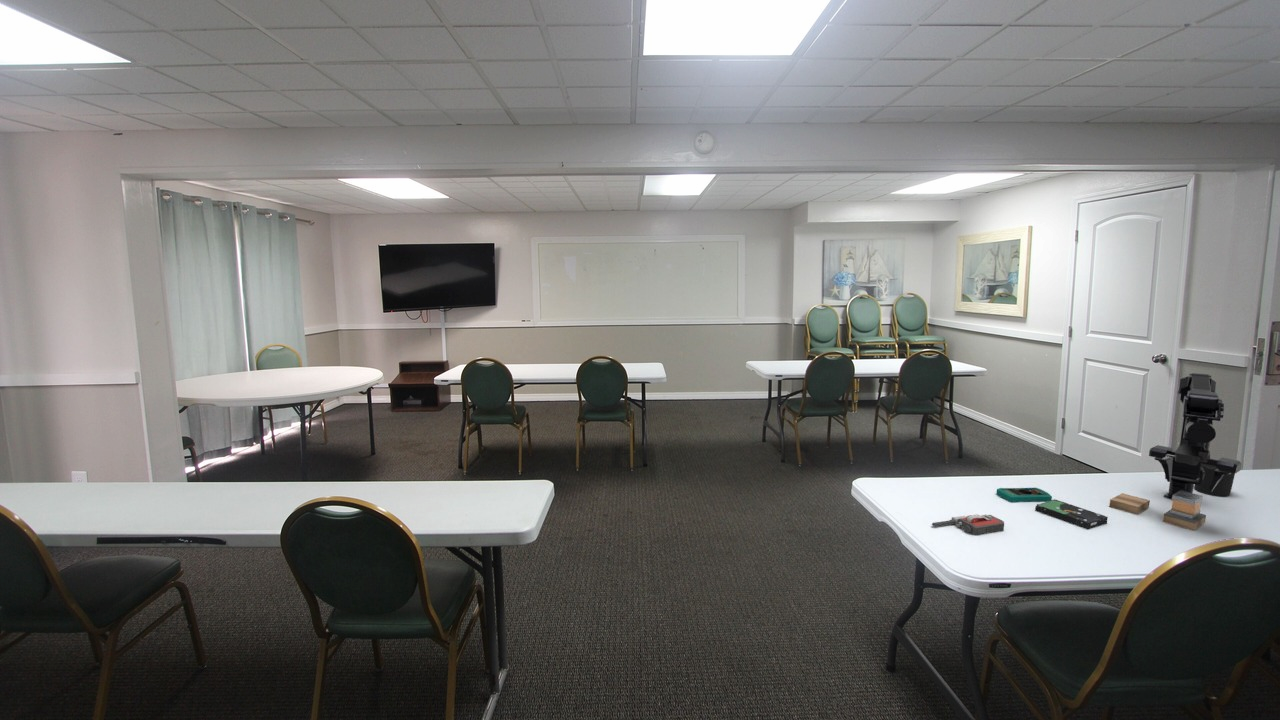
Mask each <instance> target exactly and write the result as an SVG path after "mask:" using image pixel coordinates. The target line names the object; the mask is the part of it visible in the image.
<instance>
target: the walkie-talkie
mask: <svg viewBox="0 0 1280 720" xmlns="http://www.w3.org/2000/svg"><path fill="white" fill-rule="evenodd" d="M931 525H932V526H933V527H938V526H947V525H955V527H956V528H959V529H961V530H962V531H965V532H966V533H967V534H970V535H972V536H981V535H987V534H992V533H999V532H1004V531H1005V530H1004V529H1005V521H1004V520H1002V519H1000V518H998V517H997V516H994V515H992V514H983V515H982V514H981V515H980V514H977V513H976V514H971V515H961V516H952V517H951V519H948V520H944V521H943V520H942V521H935V522H932V523H931Z"/></svg>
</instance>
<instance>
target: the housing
mask: <svg viewBox="0 0 1280 720" xmlns="http://www.w3.org/2000/svg"><path fill="white" fill-rule="evenodd" d="M1203 498H1204V496H1203V495H1201V494H1198V493H1194V492H1193V493H1189V492H1185V491H1181V490H1180V491H1179V492H1177V493H1175V494H1173V496H1172V499H1171V500H1172V503H1171V509H1170V514H1172V515H1175V516H1179V517H1183V518H1187V519H1190V520H1193V519H1195V518H1196V517H1198V516H1199V515H1200V513H1201V503H1202V501H1203Z"/></svg>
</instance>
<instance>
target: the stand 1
mask: <svg viewBox="0 0 1280 720" xmlns="http://www.w3.org/2000/svg"><path fill="white" fill-rule="evenodd" d="M1150 502H1151V500H1149V499H1146V498H1143V497H1140V496H1139V497H1138V496H1134V495H1130V494H1127V493H1120V494H1118V495H1116V496H1114V497H1112V498H1110V499H1109V506H1108V507H1109V508H1112V509H1115V510H1119V511H1123V512H1127V513H1130V514H1134V515H1139V514H1141V513H1143V512H1144V511H1146V510H1148V509H1149V508H1150Z"/></svg>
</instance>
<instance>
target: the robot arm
mask: <svg viewBox="0 0 1280 720" xmlns="http://www.w3.org/2000/svg"><path fill="white" fill-rule="evenodd" d="M1177 385H1178V386H1177V391H1176V393H1177V395H1179V396H1178V398H1179V400H1180V402H1181V403H1182V422H1181V430H1180V437H1179V443H1178V444H1179V445H1178V447H1177V449H1176V450H1175V451H1173V450H1174V448H1173V447H1169V446H1163V445H1159V444H1158V445H1155V446H1152V447H1151V448H1150V449H1149V453H1148V456H1149V457H1150V458H1151V457H1152V458H1154V461H1158V462H1159V463H1160V465H1161V467H1162V469H1163V472H1164V479H1165V480H1166V481H1167V482H1168V483H1169V485H1168V492H1166V493H1165V494H1163V497H1164V498H1168V499H1171V500H1173V499H1172V496H1173V494H1175V493H1177V492H1179V491H1180V490H1181V491H1185V492H1189V493H1194V485H1195V484H1197V485H1200V484H1203V480H1204V476H1205V471H1204V469H1203V467H1201V463H1203V464H1208V465H1213V466H1216V468H1217V469H1216V470H1214V475H1213V478H1212V482H1211V485H1210V490H1209V491H1210V492H1212V491H1213V489H1214V488H1215V487H1216V485H1217V484H1218V482H1219V481H1220V480H1221V478H1222V477H1223V476H1224V475H1229V474H1231V473H1235V474H1237V473H1239V472H1240V471H1241V469H1242V462H1240V460H1238V459H1232V458H1226V457H1221V458H1219V459H1215V458H1211V452H1210V444H1211V442H1212V441H1213V440H1214V439H1215V438H1216V430H1215V427H1214V421H1215V422H1216V421H1217V422H1221V419H1223V418H1224V410H1225V405H1224V404H1225V403H1224V402H1223V399H1219V394H1218V393H1217V392H1216V390H1217V389H1216V387H1217V382H1216V381H1215V380H1214V379H1212V375H1210V374H1208V373H1207V374H1206V373H1195V372H1192V373H1189V374H1188V376H1186V377H1182V378H1179V382H1178V384H1177Z"/></svg>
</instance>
